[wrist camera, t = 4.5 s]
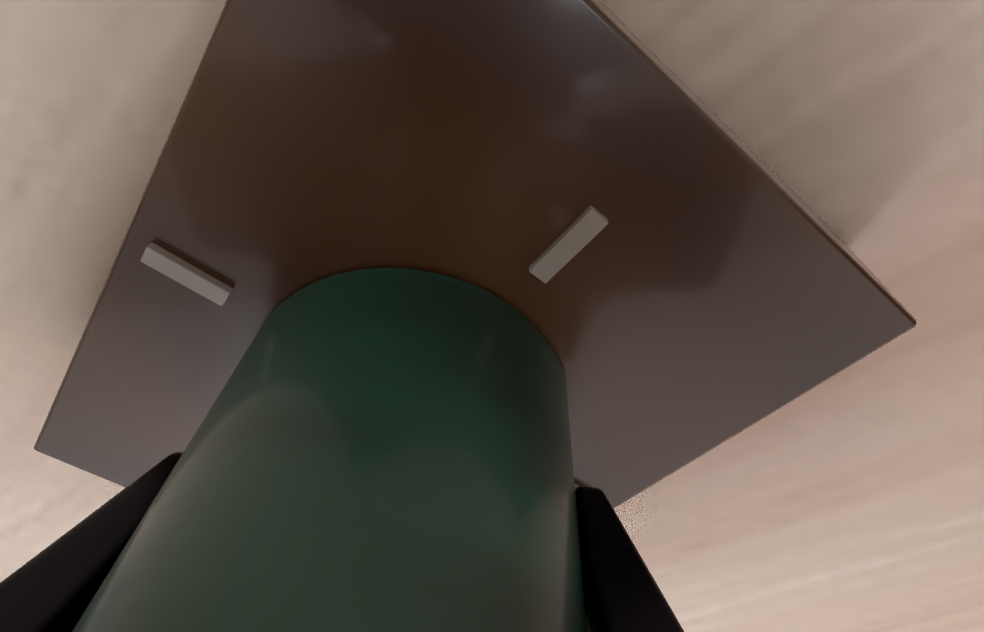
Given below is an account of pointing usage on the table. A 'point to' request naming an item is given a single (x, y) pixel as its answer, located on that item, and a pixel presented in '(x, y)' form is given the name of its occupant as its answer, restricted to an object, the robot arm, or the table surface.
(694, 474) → the table surface
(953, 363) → the table surface
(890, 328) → the dial knob base plate
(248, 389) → the rotary knob
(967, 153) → the table surface
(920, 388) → the table surface
